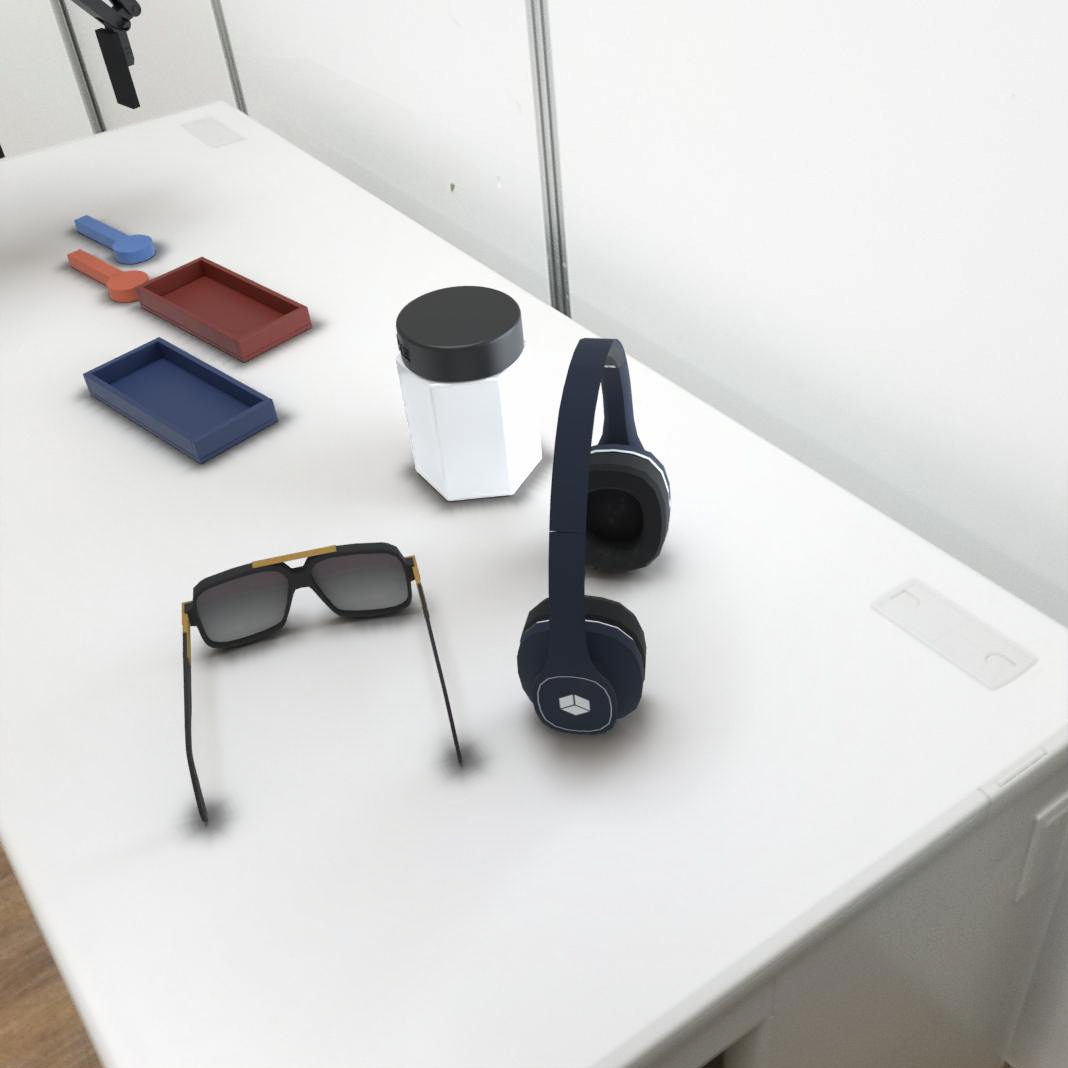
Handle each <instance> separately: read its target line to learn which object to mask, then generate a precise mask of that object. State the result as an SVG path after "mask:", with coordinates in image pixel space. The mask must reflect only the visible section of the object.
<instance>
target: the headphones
mask: <svg viewBox="0 0 1068 1068" xmlns="http://www.w3.org/2000/svg"><path fill="white" fill-rule="evenodd" d="M630 376H631V375H630V369H629V365H628V360H627V355H626V352H625V348H624V346H623V344H622V341H620V340H619V339H618V338H605V337H604V338H603V337H602V338H601V337H599V338H598V337H583V338H580V339H579V340H578V342H577V344H576V346H575V349H574V350H573V353H572V355H571V358H570V361H569V364H568V368H567V373H566V377H565V381H564V384H563V389H562V394H561V398H560V402H559V408H558V413H557V423H556V430H555V438H554V447H553V458H552V470H551V471H552V472H551V482H550V483H551V484H550V497H549V526H548V559H547V560H548V564H547V565H548V583H547V584H548V597H546V598H544V599H543V600H541V601H540V602H538V604H536V605H535V606H534V607H533V608H532V609H530V610H529V611H528V614H527V617H526V620H525V624H524V626H523V629H522V632H521V635H520V639H519V647H518V650H517V655H516V666H517V667H516V668H517V674H518V678H519V681H520V685H521V689H522V691H524V693H525V695H526V696H527V698H528V699H529V701H530V702H531V703H532V705H533V708H534V711H535V714H536V715H537V717H538V719H539V720H540V722H541V723H542V724H543V725H545V726H547V727H548V728H549V729H551V730H553V731H557V732H561V733H565V734H572V735H573V734H574V735H590V736H591V735H600V734H605V733H607V732H608V731H610V730H611V729H613V728H614V726H615V724H616V722H617V720H620V719H623V718H624V717H626V716H628V715H629V714H631V713H633V712H634V711H636V710H637V708H638V706H639V704H640V701H641V699H642V696H643V690H644V682H645V680H646V664H647V642H646V636H645V632H644V630H643V628H642V626H641V624H640V622H639V620H638V617H636V614H635V613H634V612H633V611H632V610H630V609H629V608H627V607H626V606H625V605H624V604H622V603H621V602H620V601H617V600H613V599H609V598H606V597H603V596H596V595H590V594H589V595H588V594H585V593H586V588H585V587H586V586H585V585H586V566H588V567H590V568H593V569H596V570H602V571H603V570H604V571H609V572H622V571H623V572H625V571H626V572H627V571H635V570H638V569H642V568H646V567H648V566H649V565H650V564H652V563H653V561H655V560H656V559H657V558H658V557H659V556H660V554H661V552H662V549H663V547H664V543H665V541H666V537H667V535H668V533H669V527H670V520H671V519H670V518H671V509H672V508H671V507H672V497H671V495H672V494H671V486H670V485H671V484H670V480H669V477H668V474H667V471H666V469H665V465H664V464H663V463H662V462H661V461H660V460H659V459H658V458H657V457H656V456H655V455H654V454H653V453H652V451H648V450H646V449H645V448H644V446H643V444H642V441H641V440H640V437H639V435H638V430H637V425H636V422H635V416H634V404H633V393H632V383H631V377H630ZM600 387H601V394H602V403H603V404H602V406H603V423H602V433H601V436H600V438H599V440H598V443H597V444H595V445H592V444H593V442H592V441H593V434H594V427H595V418H596V417H595V416H596V409H597V404H598V399H599V394H600V393H599V392H600Z"/></svg>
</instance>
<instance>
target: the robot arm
mask: <svg viewBox="0 0 1068 1068" xmlns="http://www.w3.org/2000/svg"><path fill="white" fill-rule="evenodd" d="M70 1H71V2H72V3H74V4H75V5H76V6H78V7H79V8H80V9H82V10H83V11H84V12H86V13H87V14H88V15H89V16H91V17H92V18H93V19H95V20H96V21H97V22H99V23H100V24H101V25H103V27H100V28H96V29H94V33H95V36H96V40H97V43H98V46H99V50H100V52H101V55H102V58H103V61H104V65H105V68H106V70H107V74H108V78H109V80H110V84H111V87H112V90H113V93H114V96H115V99H116V103H117V104H119V105H120V106H124V107H126V108H129V109H132V110H136V109H138V108H141V104H140V101H139V97H138V93H137V90H136V88H135V84H134V81H133V78H132V74H131V71H130V68H129V67H131V66H134V65H135V55H134V51H133V49H132V46H131V42H130V40H129V36H128V32H129V31H130V30H131V28H132V23H131V20H132V19H133V18H134V17H135V18H137V17H139V16H140V15H141V14H142V7H141V5H140V3H139V1H137V0H108V1H109V3H110V4H111V5H112V6H110V5H109V4H107V2H105V1H104V0H70ZM4 158H6V156H5V152H4V151H3V148H2V145H1V144H0V160H1V159H4Z"/></svg>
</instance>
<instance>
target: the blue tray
mask: <svg viewBox="0 0 1068 1068" xmlns="http://www.w3.org/2000/svg"><path fill="white" fill-rule="evenodd" d="M82 377H83V379H84V381H85V384H86V387H87V389H88V392H89V395H90V396H92V397H93V398H95V399H97V401H100V402H102V403H103V404H104V405H106V406H107V407H110V408H111V409H112V410H114V411H116V412H117V413H119V414H120V415H122V416H123V417H125V418H127V419H128V420H130V421H132V422H133V423H135V424H136V425H138V426H139V427H141V428H143V429H144V430H146V431H148V432H149V433H150V434H152V435H154V436H155V437H157V438H159V439H160V440H162V441H164V442H165V443H166V444H168V445H170V446H171V447H173V448H175V449H176V450H178V451H180V452H181V453H183V454H184V455H185V456H187V457H189V458H191V459H192V460H193V461H195V462H197V463H198V464H200V465H202V464H204V463H207V462H208V461H209V460H210V459H213V458H215V457H216V456H218V455H220V454H221V453H222V454H223V452H225V451H227V450H229V449H231V448H232V447H234V446H236V445H238V444H239V443H241V442H244V441H245V440H246V439H248V438H250V437H252V436H254V435H256V434H257V433H259V432H261V431H263V430H265V429H267V428H269V427H270V426H271V425H273V424H275V423H277V422H278V421H279V418H278V415H277V412H276V408H275V407H276V406H275V404H274V400H273V399H272V398H271V397H269V396H267V395H265V394H263V393H261V392H259V391H258V390H256V389H254V388H253V387H251V386H249V385H248V384H247V385H246V384H245V383H244V382H241V381H240V380H238V379H236V378H234V377H232V376H231V375H229V374H227V373H226V372H223V371H222V370H220V369H218V368H216V367H215V366H213V365H211V364H209V363H207V362H206V361H204V360H202V359H200V358H198V357H196V356H195V355H193V354H191V353H189V352H188V351H186V350H184V349H183V348H181V347H179V346H177V345H174V344H173V343H171V342H169V341H167V340H166V339H164V338H163V337H161V336H158V337H156V338H154V339H152V340H150V341H148V342H146V343H143V344H142V345H139V346H137V347H135V348H133V349H131V350H129V351H127V352H125V353H123V354H121V355H118V356H117V357H115V358H113V359H110V360H108V361H106V362H104V363H102V364H100V365H98V366H96V367H94V368H92V369H90V370H88V371H86V372H83V373H82Z"/></svg>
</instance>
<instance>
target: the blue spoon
mask: <svg viewBox="0 0 1068 1068" xmlns="http://www.w3.org/2000/svg"><path fill="white" fill-rule="evenodd" d="M73 222H74V224H75V227H76V230H77V232H78V233H80V234H82V235H83V236H85V237H88V238H90V239H92V240H94V241H95V242H97V243H99V244H101V245H103V246H105V247H107V248H109V249H111V250H112V251H113V255H114V257H115V260H116V261H117V262H119V263H120V264H123V265H124V264H126V265H132V264H133V265H134V264H139V263H143V262H146V261H148V260H149V259H151V258H152V257H154V256H155V254H156V248H155V245H154V242H153V238H152V237H150V236H149V235H147V234H138V233H137V234H126V233H124V232H123V231H120V230H118V229H116V228H114V227H112V226H110V225H108V224H106V223H105V222H101V221H100V220H98V219H96V218H94V217H92V216H89V215H88V214H85V215H83V216H80V217H77V218H75V219H74V221H73Z"/></svg>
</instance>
